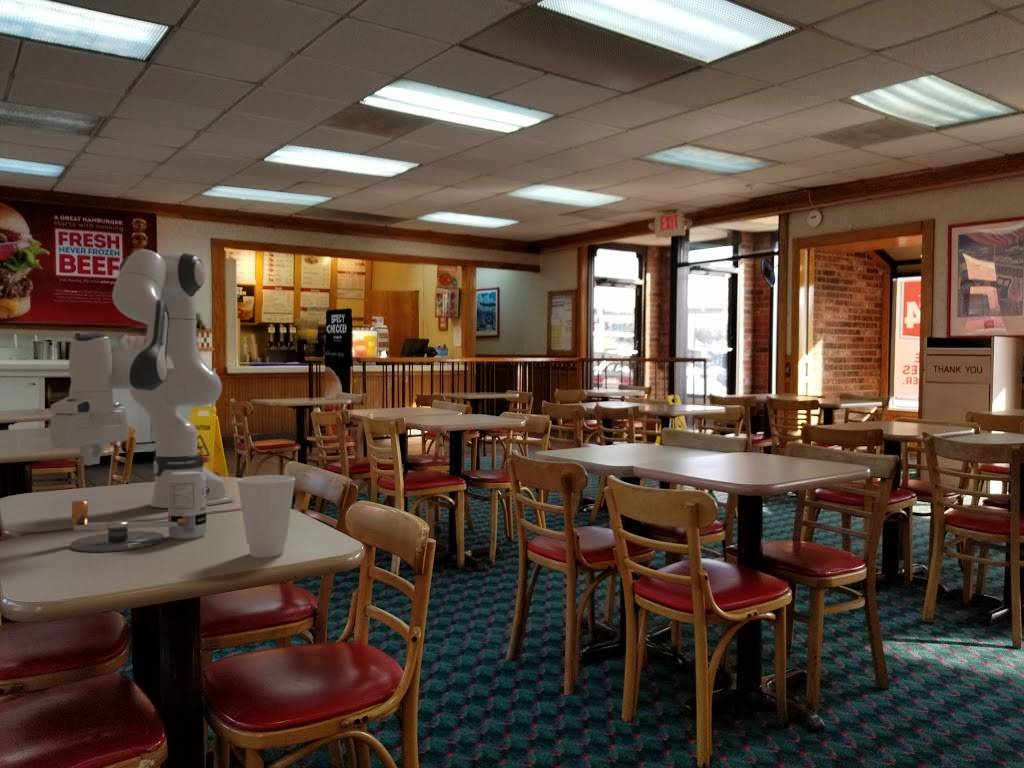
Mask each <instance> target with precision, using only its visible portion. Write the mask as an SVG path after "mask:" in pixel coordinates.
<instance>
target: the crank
mask: <svg viewBox="0 0 1024 768" xmlns="http://www.w3.org/2000/svg"><path fill="white" fill-rule="evenodd" d="M71 525H72V526H73V530H74V531H85V530H86V531H88V530H89V531H90V530H107V531H108V530H121V529H126V528H128V529H135V528H136V529H139V528H140V529H141V528H169V527H187V526H188V518H178V521H169V520H168V521H167V520H166V521H165V520H164V521H163V520H162V521H161V520H160V521H133V522H132V521H131V522H130V521H128V520H116V521H109V522H107V521H105V522H104V521H101V522H89V501H88V500H73V501H71Z"/></svg>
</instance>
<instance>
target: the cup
mask: <svg viewBox="0 0 1024 768" xmlns="http://www.w3.org/2000/svg"><path fill="white" fill-rule="evenodd" d="M295 481H296V478H295V476H291V475H283V474H282V475H281V474H269V475H268V474H267V475H266V474H265V475H253V476H251V475H250V476H246V477H240V478H238V479H237V481H236V482H237V487H238V493H239V499H240V506H241V512H242V519H243V524H244V525H243V527H244V530H245V532H244V533H245V538H246V543H247V545H248V549H249V555H250V556H251V557H252V558H253V557H254V558H273V556H274V557H278V555H279V556H281V554H282V555H283V554H284V553H285V546H286V545H285V543H286V542H287V541H288V533H289V526H290V525H289V524H290V520H291V519H290V518H291V517H290V516H291V510H292V504H293V503H292V502H293V495H294V487H295Z"/></svg>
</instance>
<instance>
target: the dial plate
mask: <svg viewBox="0 0 1024 768" xmlns="http://www.w3.org/2000/svg"><path fill="white" fill-rule="evenodd" d="M164 540H165V536H164V534H162V533H159V532H156V531H155V532H154V531H148V530H147V531H144V530H143V531H141V530H135V531H134V530H133V531H132V530H129V528H126V529H121V530H108V529H107V533H100V534H99V533H98V534H94V535H93V534H92V535H89V536H84V537H80V538H78V539H74V540H73V541H71V542H70V544H69V545H70V549H71V550H73V551H76V552H82V553H115V552H116V553H117V552H125V551H132V550H139V549H144V548H148V547H153V546H155V545H158V544H160V543H163V541H164Z"/></svg>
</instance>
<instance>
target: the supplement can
mask: <svg viewBox="0 0 1024 768" xmlns="http://www.w3.org/2000/svg"><path fill="white" fill-rule="evenodd" d="M167 509H168V511H167V512H168V513H167V514H168V518H167V519H168V521H178V518H188V526H187V527H168V536H170V537H171V539H174V540H192V539H197V538H202V537H203V536H204V535H205V534H206V533H207V505H206V477H205V475H204V474H203V471H177V472H172V473H171V476H170V477H169V479H168V508H167Z"/></svg>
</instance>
